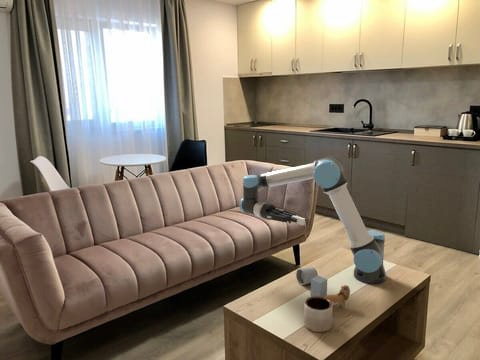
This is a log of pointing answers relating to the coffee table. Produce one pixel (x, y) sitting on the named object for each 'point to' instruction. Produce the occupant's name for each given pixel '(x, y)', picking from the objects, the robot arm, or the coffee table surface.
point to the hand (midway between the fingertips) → (304, 221)
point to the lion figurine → (340, 296)
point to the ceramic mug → (306, 275)
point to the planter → (318, 314)
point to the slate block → (319, 286)
